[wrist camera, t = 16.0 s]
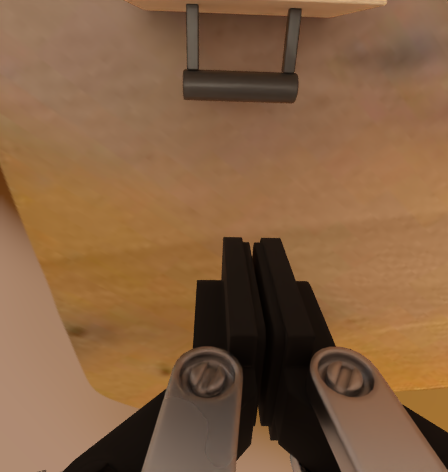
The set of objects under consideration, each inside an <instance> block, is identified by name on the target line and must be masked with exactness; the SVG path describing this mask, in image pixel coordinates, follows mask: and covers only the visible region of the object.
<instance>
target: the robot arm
mask: <svg viewBox="0 0 448 472" xmlns="http://www.w3.org/2000/svg"><path fill="white" fill-rule="evenodd" d="M257 408H258V409H259V416H260V423H261V426H268V427H269V434H270V440H278V443H279V445H280V446H282V447H283V448H284V449H285V450H286V451H287V452H288V453H290V461H291V466H292V469H293V472H448V433H447V432H446V431H444V430H443V429H441V428H440V427H438V426H436V425H435V424H433V423H431V422H430V421H428V420H426V419H425V418H423V417H422V416H420V415H419V414H417V413H415V412H414V411H412V410H410V409H409V408H407V407H406V406H404V405H402V404H401V402H400V401H399V400H398V398H397V397H396V395H395V394H394V392H393V391H392V390H391V388H390V387H389V385H388V384H387V382H386V381H385V379H384V378H383V377H382V375H381V374H380V372H379V371H378V369H377V368H376V367H375V366H374V365H373V364H372V363H371V361H370V360H368V359H367V358H365V357H364V356H363V355H361V354H360V353H357V352H355V351H353V350H351V349H347V348H343V347H336V346H335V343H334V341H333V339H332V336H331V334H330V331H329V329H328V327H327V324H326V322H325V319H324V317H323V315H322V312H321V310H320V307H319V305H318V302H317V300H316V298H315V295H314V293H313V290H312V288H311V286H310V284H309V282H307V281H295V278H294V275H293V272H292V269H291V267H290V264H289V261H288V258H287V256H286V253H285V250H284V247H283V244H282V242H281V239H280V238H261V240H260V243H254V245H253V256H252V255H251V250H250V245H249V242H243V241H242V238H240V237H224V238H223V256H222V279H221V280H197V290H196V306H195V322H194V339H193V349H191V350H190V351H188V352H186V353H184V354H183V355H182V356H181V357H180V358H179V359H178V360H177V361H176V363H175V365H174V367H173V370H172V373H171V376H170V379H169V383H168V386H167V389H165V390H164V391H163V392H161V393H160V394H159V395H158V396H156V397H155V398H154V399H152V400H151V401H150V402H149V403H147V404H146V405H145V406H143V407H142V408H141V409H140V410H138V411H137V412H136V413H134V414H133V415H132V416H131V417H129V418H128V419H127V420H125V421H124V422H123V423H122V424H120V425H119V426H118V427H116V428H115V429H114V430H113V431H111V432H110V433H109V434H107V435H106V436H105V437H104V438H102V439H101V440H100V441H98V442H97V443H96V444H95V445H93V446H92V447H91V448H89V449H88V450H87V451H86V452H84V453H83V454H82V455H80V456H79V457H78V458H76V459H75V460H74V461H73V462H72V463H71V464H70V465H69V466H68V467H67V468H66V469H65V470H64V471H62V472H235V471H236V461H237V460H238V458H239V457H240V456H241V455H242V454H243V453H244V452H245V450H246V449H247V448H248V447H249V446H250V444H251V439H252V431H253V426H255V423H256V416H257ZM39 472H46V470H44V471H39Z"/></svg>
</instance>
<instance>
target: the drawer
mask: <svg viewBox="0 0 448 472" xmlns="http://www.w3.org/2000/svg"><path fill="white" fill-rule="evenodd" d="M124 1H126V2H128V3H130V4H133V5H135V6H137V7H139V8H141V9H143V10H152V11H176V12H186V35H187V69H185V70H184V71H183V96H184V99H185V100H204V101H235V102H265V103H294V102H295V100H296V97H297V93H298V75H297V74H296V73H294V72H295V64H296V55H297V47H298V39H299V30H300V22H301V17H322V18H332V17H336V16H341V15H345V14H349V13H354V12H358V11H362V10H367V9H371V8H375V7H380V6H384V5H386V3H387V0H124ZM199 12H201V13H225V14H249V15H274V16H287V24H286V34H285V44H284V53H283V63H282V72H283V73H276V72H248V71H220V70H198V69H199Z"/></svg>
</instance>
